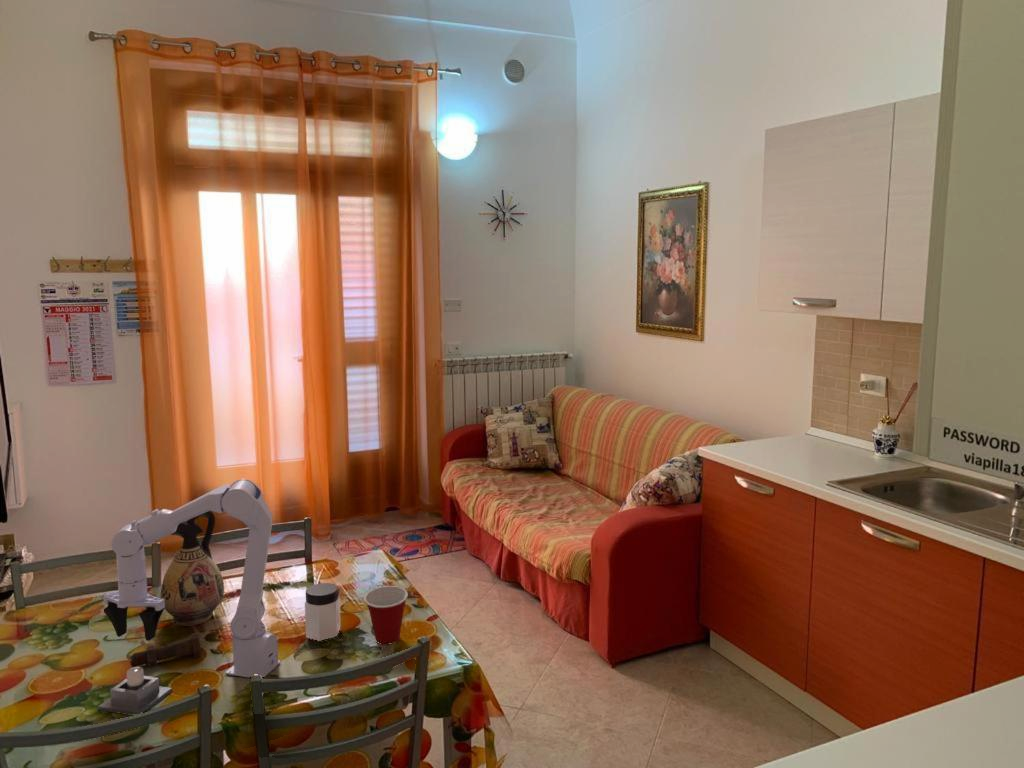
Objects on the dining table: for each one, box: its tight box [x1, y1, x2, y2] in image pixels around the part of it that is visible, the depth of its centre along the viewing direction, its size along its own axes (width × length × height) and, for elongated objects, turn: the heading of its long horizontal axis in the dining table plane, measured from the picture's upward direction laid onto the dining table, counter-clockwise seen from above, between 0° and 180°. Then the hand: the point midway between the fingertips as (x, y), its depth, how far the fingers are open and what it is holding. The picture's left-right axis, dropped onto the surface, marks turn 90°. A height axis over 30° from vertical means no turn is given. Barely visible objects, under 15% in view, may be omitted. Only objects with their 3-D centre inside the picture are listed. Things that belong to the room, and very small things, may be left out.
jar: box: [304, 582, 341, 642], centre depth 191 cm, size 9×8×12 cm
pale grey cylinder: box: [125, 666, 145, 691], centre depth 161 cm, size 3×3×6 cm
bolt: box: [129, 632, 202, 668], centre depth 178 cm, size 6×5×15 cm
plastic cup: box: [363, 585, 409, 645], centre depth 188 cm, size 11×11×12 cm
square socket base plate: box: [97, 675, 173, 716], centre depth 161 cm, size 10×10×4 cm
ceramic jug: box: [160, 511, 227, 627], centre depth 199 cm, size 17×15×30 cm
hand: (136, 636), depth 169 cm, fingers open, 7 cm apart
